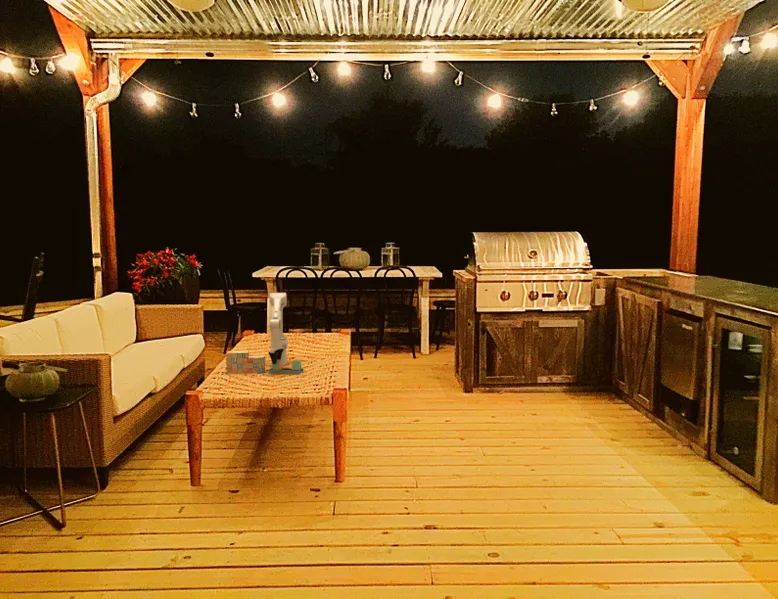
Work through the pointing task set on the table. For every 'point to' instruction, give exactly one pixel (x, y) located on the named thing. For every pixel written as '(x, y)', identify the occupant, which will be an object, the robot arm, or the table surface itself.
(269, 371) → the rail
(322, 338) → the table surface
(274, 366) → the toy block
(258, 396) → the table surface
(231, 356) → the stack of blocks
